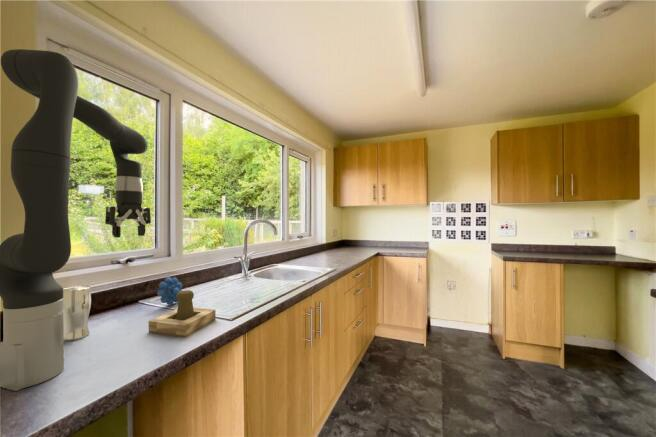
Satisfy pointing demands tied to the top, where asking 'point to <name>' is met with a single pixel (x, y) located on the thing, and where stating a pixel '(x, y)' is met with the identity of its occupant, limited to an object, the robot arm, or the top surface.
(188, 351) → the top surface
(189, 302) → the cork
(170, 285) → the blue lobed wheel
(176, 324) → the holder block
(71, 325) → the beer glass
